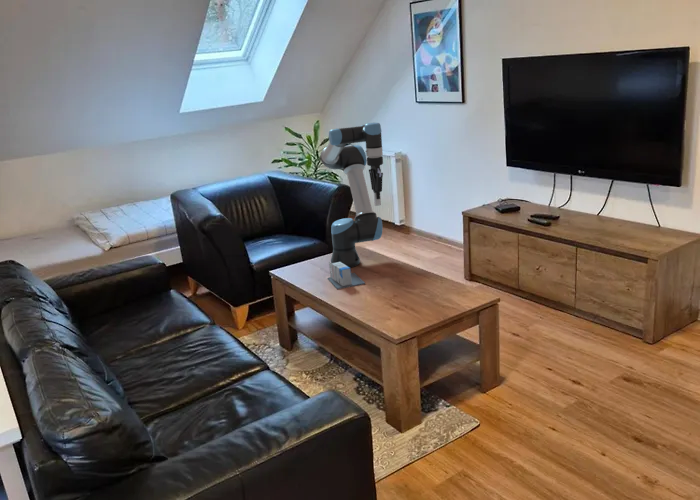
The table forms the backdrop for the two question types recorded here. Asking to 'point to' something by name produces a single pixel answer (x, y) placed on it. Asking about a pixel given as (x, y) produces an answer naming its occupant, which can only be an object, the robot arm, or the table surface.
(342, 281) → the ink box
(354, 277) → the mat
